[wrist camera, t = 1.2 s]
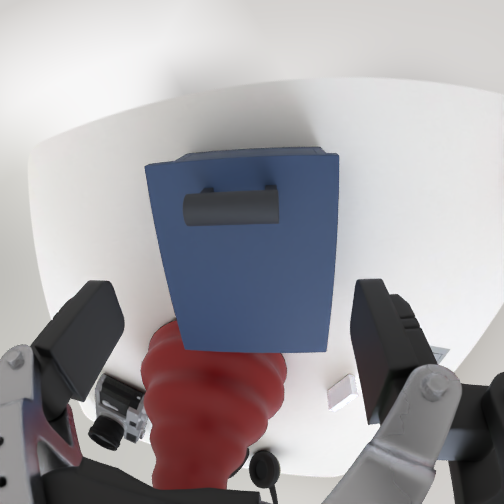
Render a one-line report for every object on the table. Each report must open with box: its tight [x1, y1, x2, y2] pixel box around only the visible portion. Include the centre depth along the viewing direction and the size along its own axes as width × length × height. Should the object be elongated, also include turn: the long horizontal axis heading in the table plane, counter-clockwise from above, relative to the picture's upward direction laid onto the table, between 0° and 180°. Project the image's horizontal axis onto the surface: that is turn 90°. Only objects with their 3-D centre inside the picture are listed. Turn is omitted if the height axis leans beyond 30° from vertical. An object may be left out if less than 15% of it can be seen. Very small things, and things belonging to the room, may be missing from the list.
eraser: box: [327, 374, 358, 412], centre depth 39 cm, size 1×5×4 cm, turn 149°
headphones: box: [228, 447, 280, 504], centre depth 44 cm, size 9×15×20 cm, turn 60°
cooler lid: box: [145, 153, 339, 353], centre depth 20 cm, size 16×13×5 cm
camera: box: [88, 374, 148, 451], centre depth 45 cm, size 18×10×10 cm
